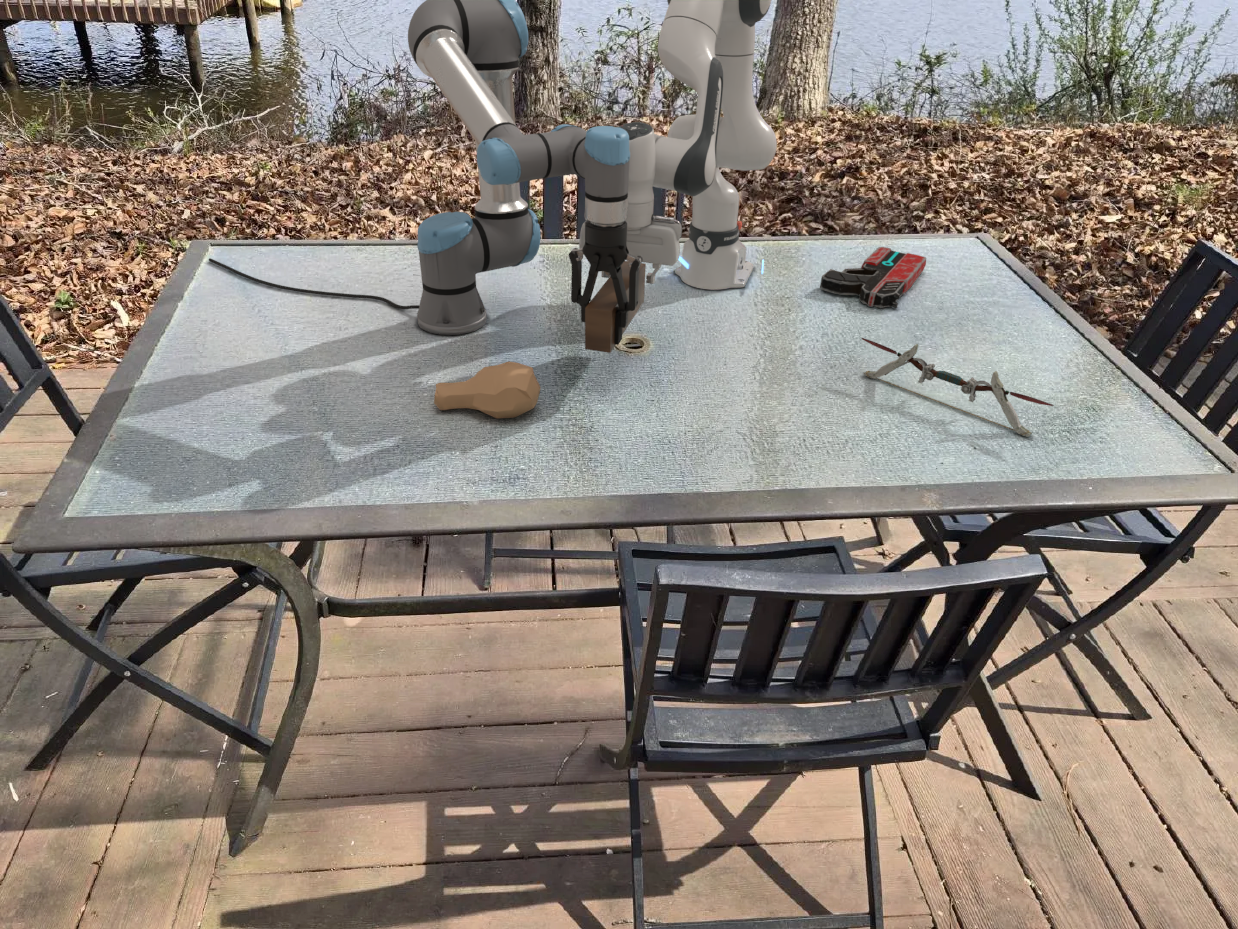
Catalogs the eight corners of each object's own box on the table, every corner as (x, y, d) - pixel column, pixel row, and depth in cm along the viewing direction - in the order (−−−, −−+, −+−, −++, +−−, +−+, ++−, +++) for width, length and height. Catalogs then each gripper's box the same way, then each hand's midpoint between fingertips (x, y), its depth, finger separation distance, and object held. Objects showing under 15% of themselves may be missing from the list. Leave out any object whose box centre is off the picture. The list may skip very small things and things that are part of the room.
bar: (610, 353, 165) (611, 311, 160) (584, 349, 166) (585, 307, 161) (644, 301, 185) (645, 263, 181) (621, 298, 186) (622, 260, 182)
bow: (1043, 439, 161) (1060, 391, 155) (1040, 443, 160) (1056, 395, 154) (857, 369, 182) (866, 325, 177) (852, 372, 181) (861, 327, 175)
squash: (542, 425, 161) (533, 386, 155) (435, 433, 163) (423, 395, 156) (546, 387, 169) (538, 350, 163) (444, 396, 170) (432, 359, 164)
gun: (818, 277, 212) (896, 296, 205) (859, 239, 234) (931, 255, 227) (815, 294, 215) (892, 314, 207) (855, 255, 237) (927, 271, 229)
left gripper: (660, 219, 157) (654, 338, 170) (564, 208, 160) (565, 325, 173) (650, 232, 151) (644, 354, 164) (550, 220, 154) (553, 340, 167)
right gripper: (686, 213, 172) (681, 280, 179) (586, 202, 176) (585, 268, 184) (679, 223, 167) (674, 291, 174) (576, 211, 171) (576, 278, 178)
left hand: (604, 339), depth 168 cm, fingers closed on bar, 5 cm apart
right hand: (628, 279), depth 179 cm, fingers open, 8 cm apart
